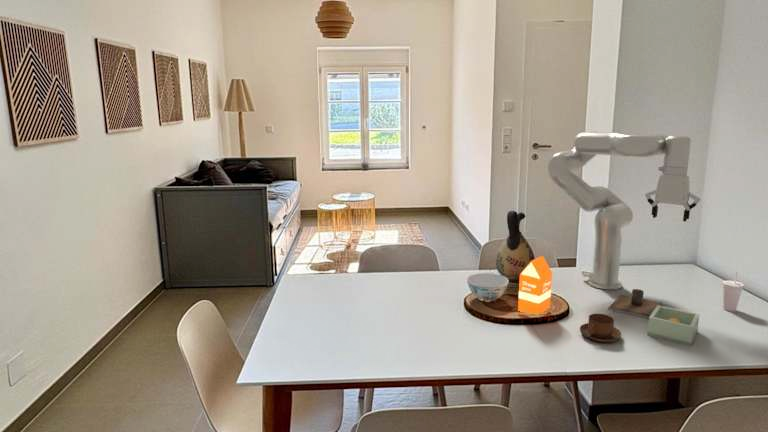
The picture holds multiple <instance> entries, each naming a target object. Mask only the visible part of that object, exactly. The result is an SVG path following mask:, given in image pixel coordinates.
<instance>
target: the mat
mask: <svg viewBox="0 0 768 432" xmlns="http://www.w3.org/2000/svg"><path fill="white" fill-rule="evenodd" d="M665 305H666V304H663V305H662V306H663V307H666V306H665ZM607 310H608V311H613V312H617V313H621V314H625V315H629V316H634V317H638V318H643V319H647V320H649V317H648V316H643V315H639V314H635V313H630V312H626V311H621V310H617V309H612V308H610V306H609V307H608V309H607Z"/></svg>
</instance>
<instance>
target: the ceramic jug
mask: <svg viewBox="0 0 768 432" xmlns="http://www.w3.org/2000/svg"><path fill="white" fill-rule="evenodd" d="M506 216H507V217H506V223H507V228H508V229H507V230H508V235H507V236H506V238H505V239H504V240H503V242H502V243H501V245H500V247H499V248H498V250H497V253H496V254H497V255H496V257H495V267H496V270H497V272H498V274H499V275H501V276H504V277H506V278H507V279H508V280H509V283H508V286H509V285H511V286H512V285H513V286H519V280H520V274H521V273H522V272H523V270H524V269H525V268H526V267H527V266H528V265H529V263H530V262H531V261H532V260H534V259H536V258H535V254H534V252H533V249H532V248H531V246H530V244H529V243H528V241H527V239H526V238H525V237H524V235H523V234H522V232H521V230H520V226H521V221H523V220H524V219H525V218H526V214H525V213H524V212H519V213H518V212H517V211H515V210H509V211H508V212H507V215H506Z"/></svg>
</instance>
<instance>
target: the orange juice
mask: <svg viewBox="0 0 768 432" xmlns="http://www.w3.org/2000/svg"><path fill="white" fill-rule="evenodd" d="M552 280H553V272H552V270H551V268H550V266H549V265H548V263H547V261H546V259H545V257H544V256H543V255H541V256H539V257H536V258H535V259H534V260H532V261H531V262H530V263H529V265H528V266H527V267H526V268H525V269H524V270H523V272H522V273H521V274H520V280H519V285H518V305H517V312H518V311H520V312H525V313H530V314H535V315H539V314H541V313H543V312H544V311H546V310H547V309H549V308H550V309H551V297H552Z"/></svg>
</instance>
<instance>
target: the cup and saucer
mask: <svg viewBox="0 0 768 432" xmlns="http://www.w3.org/2000/svg"><path fill="white" fill-rule="evenodd" d="M614 326H615V318H613V317H612V316H611V315H608V314H604V313H591V314H590V315H588V321H587V323H585V324H582V325H580V326H579V331H580V333H581V334H582V335H583V336H584V337H586V338H587V339H589V340H592V341H596V342H600V343H602V342H603V343H608V342H609V343H612V342H615V341H618V340H619V339H620V338H621V337H622V332H621V331H620V330H619V329H618V328H616V327H614Z"/></svg>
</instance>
